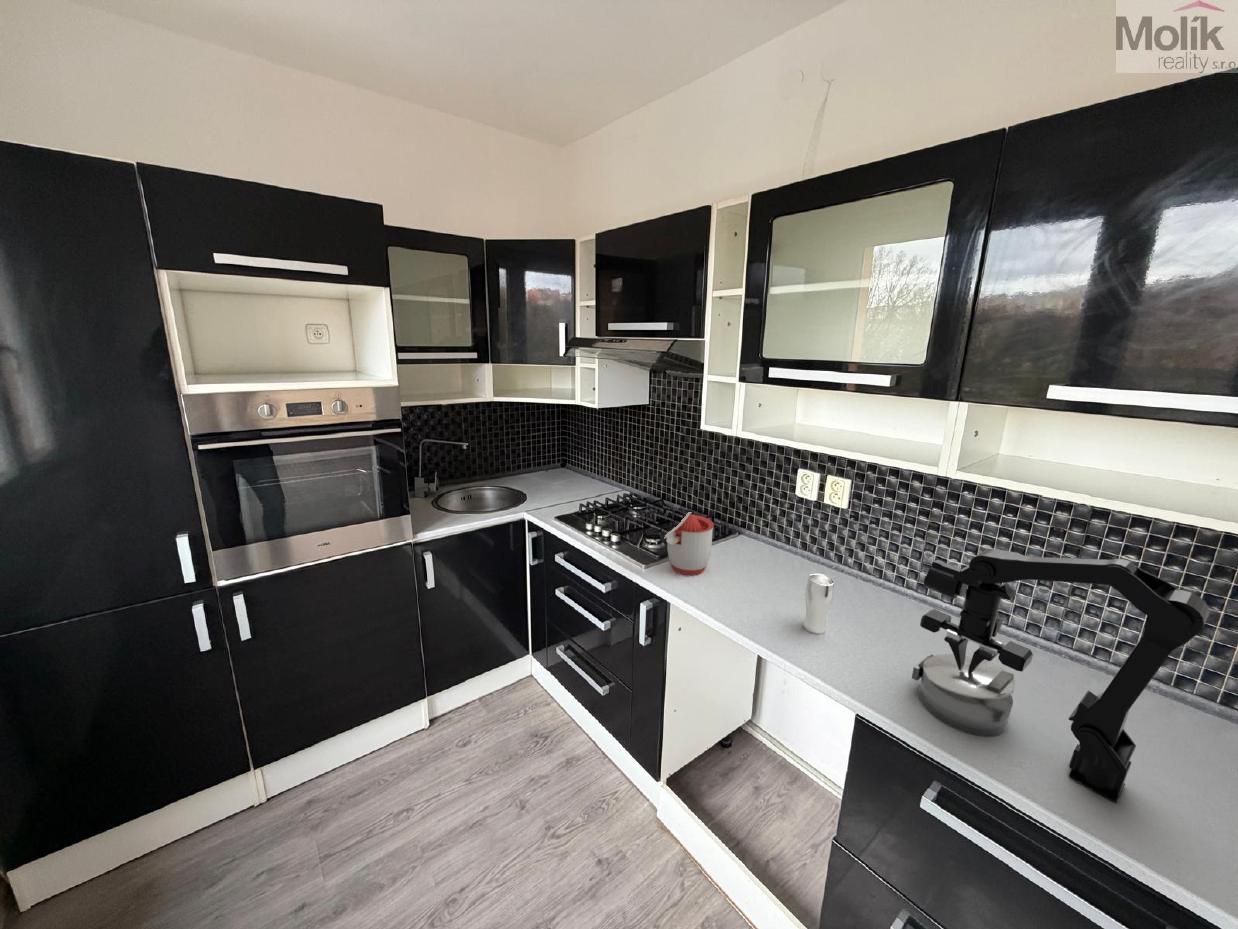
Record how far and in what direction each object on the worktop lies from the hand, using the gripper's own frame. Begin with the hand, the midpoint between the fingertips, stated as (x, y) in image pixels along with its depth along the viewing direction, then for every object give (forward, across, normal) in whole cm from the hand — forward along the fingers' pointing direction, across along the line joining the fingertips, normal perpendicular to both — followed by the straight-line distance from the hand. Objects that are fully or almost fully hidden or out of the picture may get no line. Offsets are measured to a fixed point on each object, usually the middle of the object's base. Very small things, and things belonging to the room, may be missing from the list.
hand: (965, 671), depth 104 cm
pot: (+9, -1, 0) cm, 9 cm away
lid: (+1, 0, 0) cm, 1 cm away
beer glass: (+9, +35, 0) cm, 36 cm away
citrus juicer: (+9, +81, +6) cm, 82 cm away
